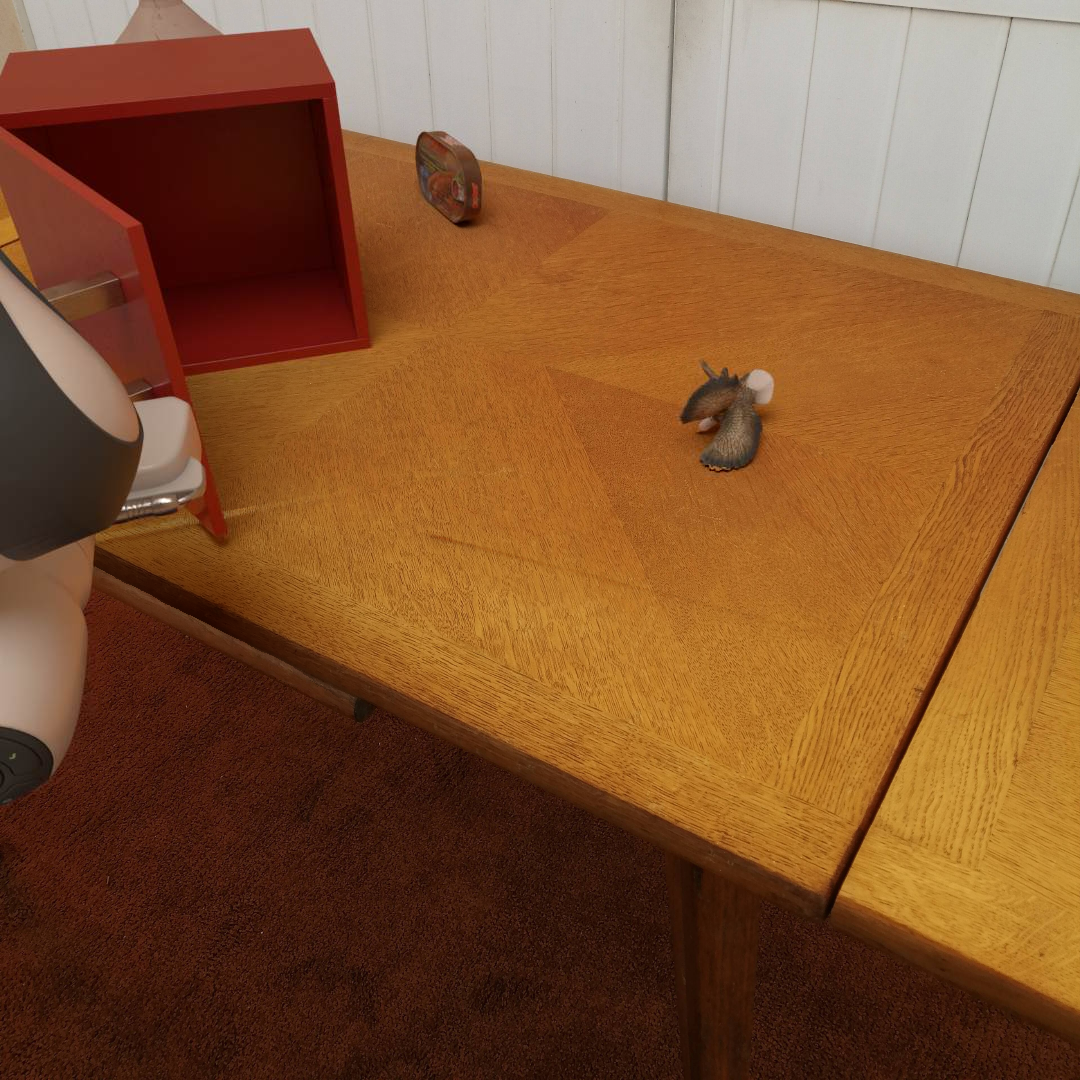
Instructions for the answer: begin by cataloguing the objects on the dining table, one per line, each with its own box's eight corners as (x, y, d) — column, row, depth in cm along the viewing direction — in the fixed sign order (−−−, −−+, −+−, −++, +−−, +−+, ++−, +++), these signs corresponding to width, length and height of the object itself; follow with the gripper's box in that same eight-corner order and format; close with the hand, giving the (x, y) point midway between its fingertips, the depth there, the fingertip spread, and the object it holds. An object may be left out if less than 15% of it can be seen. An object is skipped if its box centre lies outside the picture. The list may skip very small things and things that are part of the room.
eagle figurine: (671, 393, 88) (655, 432, 80) (724, 331, 84) (713, 367, 76) (738, 446, 88) (728, 490, 81) (793, 388, 85) (789, 428, 77)
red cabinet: (371, 348, 97) (335, 81, 81) (83, 393, 91) (-17, 115, 75) (345, 270, 110) (309, 27, 94) (92, 304, 104) (8, 52, 88)
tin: (415, 191, 127) (409, 122, 121) (438, 186, 128) (433, 118, 123) (464, 234, 117) (459, 161, 111) (488, 229, 118) (485, 156, 112)
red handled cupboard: (147, 570, 72) (35, 254, 57) (16, 420, 87) (-102, 138, 72) (228, 532, 75) (142, 223, 60) (87, 393, 91) (-10, 118, 75)
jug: (139, 148, 140) (72, -104, 121) (269, 139, 142) (224, -110, 123) (121, 201, 125) (41, -76, 106) (266, 190, 128) (214, -84, 108)
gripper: (193, 455, 52) (186, 332, 62) (-248, 532, 48) (-178, 387, 58) (220, 547, 56) (210, 418, 66) (-184, 625, 52) (-129, 474, 62)
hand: (26, 404), depth 62 cm, fingers open, 8 cm apart
